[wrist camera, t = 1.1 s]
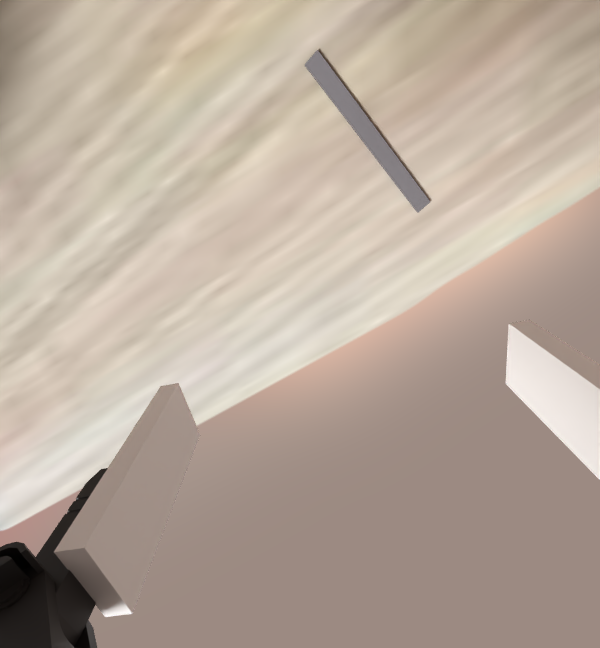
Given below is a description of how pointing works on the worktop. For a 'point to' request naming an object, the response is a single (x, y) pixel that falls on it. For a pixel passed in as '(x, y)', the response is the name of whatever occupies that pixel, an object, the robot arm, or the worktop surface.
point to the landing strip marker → (366, 130)
